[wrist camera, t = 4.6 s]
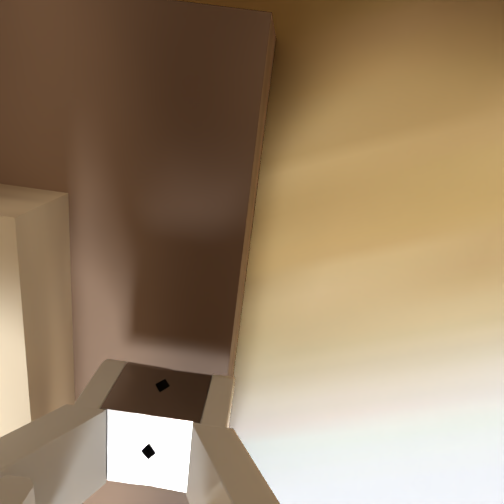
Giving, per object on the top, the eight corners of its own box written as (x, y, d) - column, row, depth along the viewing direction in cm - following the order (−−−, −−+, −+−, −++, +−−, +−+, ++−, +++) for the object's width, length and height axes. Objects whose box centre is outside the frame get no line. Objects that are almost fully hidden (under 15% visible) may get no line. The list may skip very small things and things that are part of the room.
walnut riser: (276, 38, 12) (271, 12, 8) (220, 473, 17) (202, 577, 14) (-215, -24, 12) (-440, -77, 8) (-113, 421, 18) (-219, 509, 14)
